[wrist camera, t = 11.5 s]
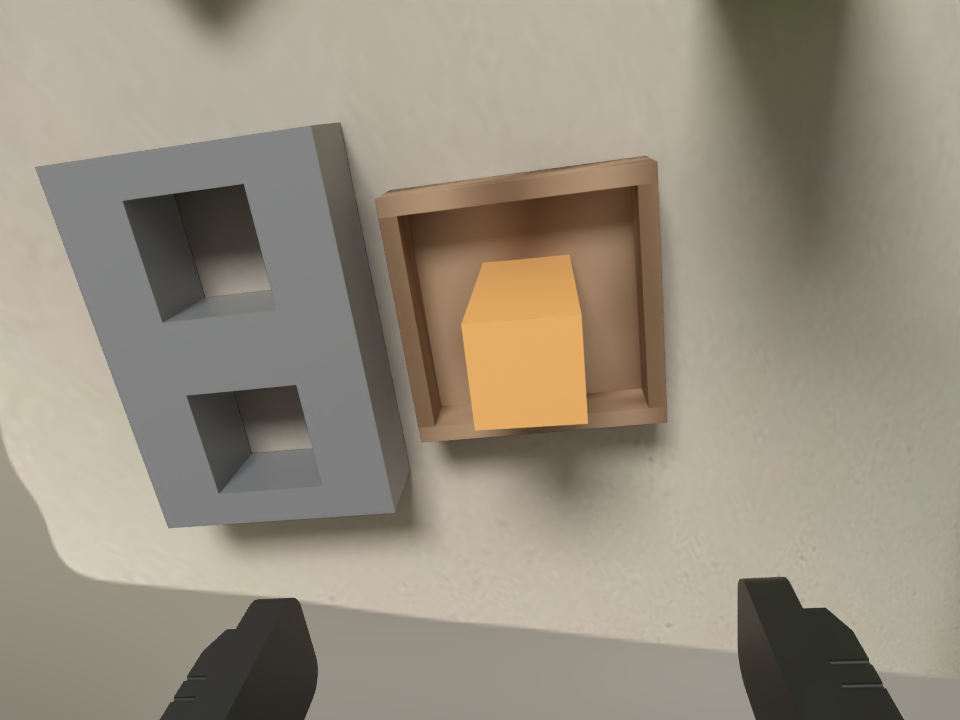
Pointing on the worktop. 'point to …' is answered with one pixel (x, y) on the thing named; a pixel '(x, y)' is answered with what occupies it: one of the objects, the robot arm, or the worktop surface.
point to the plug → (525, 345)
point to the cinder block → (238, 326)
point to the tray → (523, 235)
